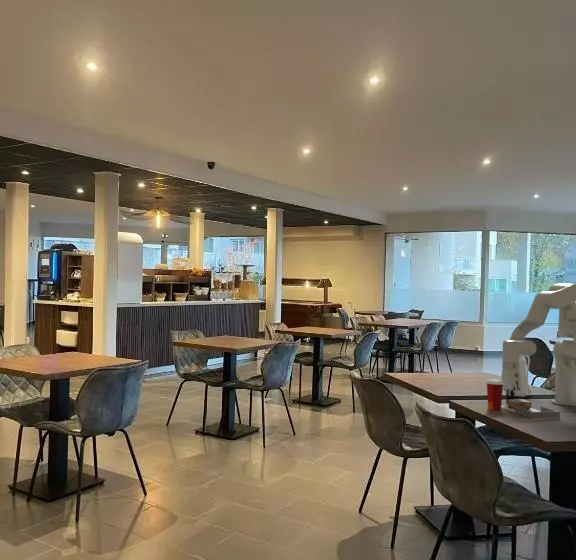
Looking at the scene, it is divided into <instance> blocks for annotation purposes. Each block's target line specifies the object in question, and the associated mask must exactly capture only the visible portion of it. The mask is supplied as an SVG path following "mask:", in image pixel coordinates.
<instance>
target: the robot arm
mask: <svg viewBox="0 0 576 560" xmlns="http://www.w3.org/2000/svg"><path fill="white" fill-rule="evenodd" d="M550 310H559V311H558V325H557V326H558V328H557V331H558V335H560V336H562V337H564V338H569V340H567V339H562V340H561V339H560V340H557V342H555V343H554V345H553V354H554V356H553V357H554V361H555V363H554V365H555V369H554V370H555V371H554V373H555V374H554V375H555V376H554V377H555V378H554V379H555V381H554V383H555V384H554V385H555V386H554V387H555V388H554V398H553V399H551V403H552V404H556V405H559V406H568V407H571V406H572V407H575V406H576V284H575V283H554V284H551V285H550V287H549V288H548V291H547V290H546V291H540V292H537V293H536V294H535V296H534V298H533V301H532V303H531V306H530V308H529V310H528V313H527V315H526V317H525V319H523V320H522V321H521V322H519V324H518V325H517V326H516V327H515V328H514V329H513V330H512V333H511V335H510V337H509V339H506V340H503V342H502V364H501V365H502V366H501V367H502V369H501V370H502V371H501V379H500V380H502V381H503V391H504V392H505V395H506V396H505V398H506V399H505V400H506V402H505V403H506V405H507V400H511V399H515V393H518V390H521V377H520V370H519V355H526V356H529V357H530V356H532V355H534V354H535V353H536V352H537V348H538V346H537V345H536V343H535V342H534V341H532V340H529V339H525V338H526V337H527V336H528V334H529V333H531V332H532V331H535V330H537V329H539V328H540V327H542V326H544V324H545V322H546V320H547V317H548V316H549V315H548V314H549V312H550ZM570 339H573V340H570ZM526 356H525V357H526Z"/></svg>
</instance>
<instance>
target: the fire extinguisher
mask: <svg viewBox="0 0 576 560" xmlns="http://www.w3.org/2000/svg"><path fill="white" fill-rule="evenodd" d="M523 357H526V358H527V360H526V359H524V358H523ZM530 363H531V357H530V356H526V355H519V370H520V377H521V390H518V393H515V396H516V397H526V396H527V395H532V394H534V391H533V389H532V388H531V385H530V384H529V371H530V370H529V369H530ZM515 396H514V397H515Z"/></svg>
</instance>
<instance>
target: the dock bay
mask: <svg viewBox="0 0 576 560" xmlns="http://www.w3.org/2000/svg"><path fill="white" fill-rule="evenodd" d="M501 409H505V410H507V411H510V412H512V413H515V414H518V415H521V416H523V417H527V418H529V419H536V420H551V419H552V420H553V419H556V420H557V419H558V420H559V419H561V412H560V411H558V410H556V409H552V408H549V407H546V406H544V405H542V406H540V410H539V409H535V408H530V409H529V410H527V409H526V408H519V407H515V408H514V407H512V408H509V407H508V405H501Z"/></svg>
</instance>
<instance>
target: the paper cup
mask: <svg viewBox="0 0 576 560" xmlns="http://www.w3.org/2000/svg"><path fill="white" fill-rule="evenodd" d="M485 383H486V392H487V393H486V394H487V410H489V411H494V412H500V411H502V408H501V406H502V402H503V401H502V400H503V391H504V390H503V381H502V380H501V379H493V378H492V379H487V380H486V382H485Z"/></svg>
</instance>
